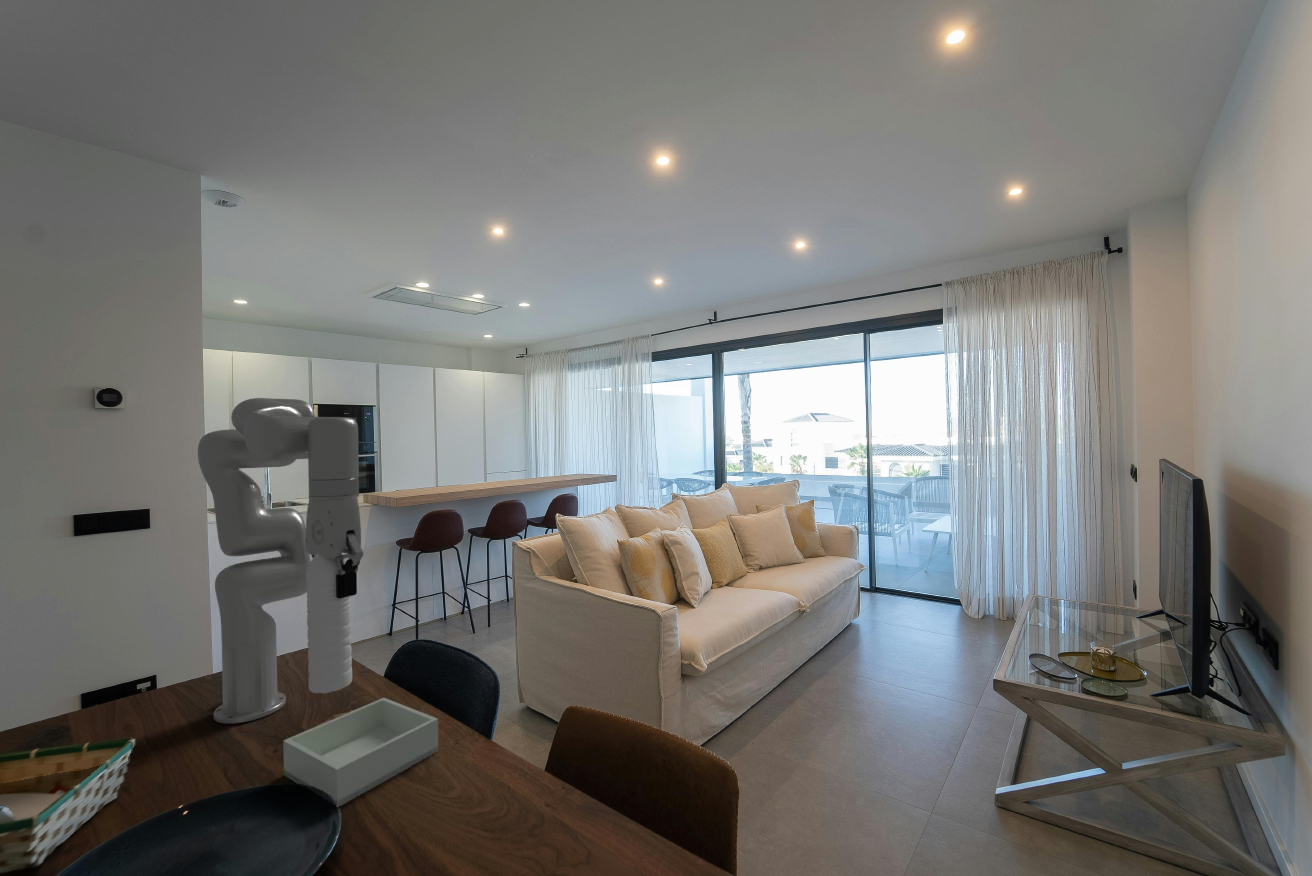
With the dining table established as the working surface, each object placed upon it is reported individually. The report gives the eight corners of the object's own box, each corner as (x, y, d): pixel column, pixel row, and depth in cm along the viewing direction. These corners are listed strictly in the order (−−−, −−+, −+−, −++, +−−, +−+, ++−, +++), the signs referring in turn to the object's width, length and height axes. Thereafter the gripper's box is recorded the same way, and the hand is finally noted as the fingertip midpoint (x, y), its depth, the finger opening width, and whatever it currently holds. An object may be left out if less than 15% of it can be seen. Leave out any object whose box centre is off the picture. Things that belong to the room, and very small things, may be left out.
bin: (283, 775, 99) (283, 740, 99) (384, 727, 115) (384, 697, 115) (337, 807, 90) (336, 769, 90) (438, 751, 106) (437, 718, 106)
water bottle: (328, 696, 94) (325, 543, 94) (299, 691, 96) (296, 541, 96) (371, 674, 102) (368, 534, 102) (343, 670, 104) (340, 532, 104)
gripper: (286, 488, 100) (287, 590, 100) (338, 494, 91) (340, 607, 91) (330, 484, 106) (331, 581, 107) (383, 489, 97) (385, 595, 97)
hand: (335, 592), depth 99 cm, fingers closed on water bottle, 6 cm apart
